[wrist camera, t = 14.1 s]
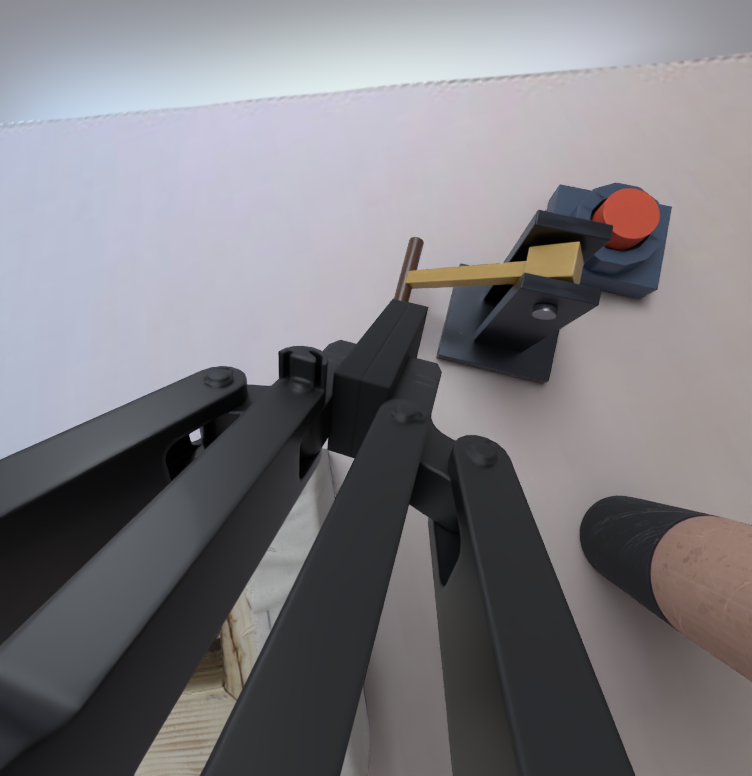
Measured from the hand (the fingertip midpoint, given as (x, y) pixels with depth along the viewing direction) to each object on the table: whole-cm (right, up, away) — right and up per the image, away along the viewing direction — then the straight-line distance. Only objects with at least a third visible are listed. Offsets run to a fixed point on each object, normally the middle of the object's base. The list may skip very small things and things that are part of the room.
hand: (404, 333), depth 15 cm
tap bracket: (+10, +4, +18) cm, 21 cm away
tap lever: (+7, +5, +11) cm, 14 cm away
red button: (+19, +12, +15) cm, 27 cm away
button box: (+20, +11, +18) cm, 29 cm away
